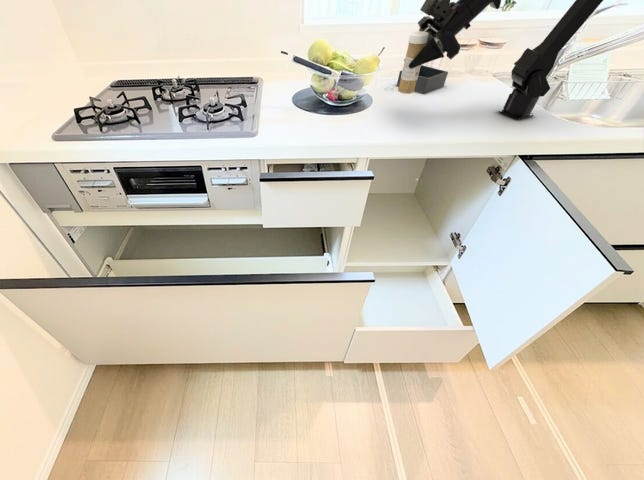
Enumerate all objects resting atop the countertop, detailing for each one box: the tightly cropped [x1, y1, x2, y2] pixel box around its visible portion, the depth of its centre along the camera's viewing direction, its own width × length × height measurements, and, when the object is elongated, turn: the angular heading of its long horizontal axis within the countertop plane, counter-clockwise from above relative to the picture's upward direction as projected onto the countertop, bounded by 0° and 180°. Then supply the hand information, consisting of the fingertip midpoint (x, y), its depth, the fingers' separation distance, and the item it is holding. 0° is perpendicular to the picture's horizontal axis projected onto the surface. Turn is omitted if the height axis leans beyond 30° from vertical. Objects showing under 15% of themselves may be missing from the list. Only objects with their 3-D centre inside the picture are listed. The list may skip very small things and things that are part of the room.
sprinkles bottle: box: [397, 30, 429, 95], centre depth 86 cm, size 5×5×13 cm
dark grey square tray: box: [396, 64, 449, 95], centre depth 111 cm, size 11×11×4 cm
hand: (407, 64), depth 86 cm, fingers closed on sprinkles bottle, 4 cm apart
